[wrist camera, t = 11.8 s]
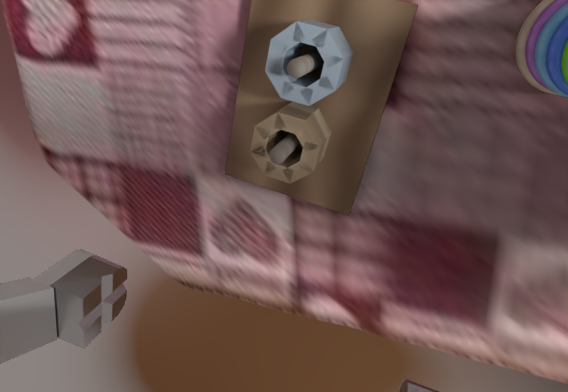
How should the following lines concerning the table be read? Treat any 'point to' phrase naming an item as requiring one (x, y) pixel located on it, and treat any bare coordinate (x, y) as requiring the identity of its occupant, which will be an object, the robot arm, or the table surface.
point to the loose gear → (290, 46)
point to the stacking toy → (545, 47)
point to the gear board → (324, 113)
